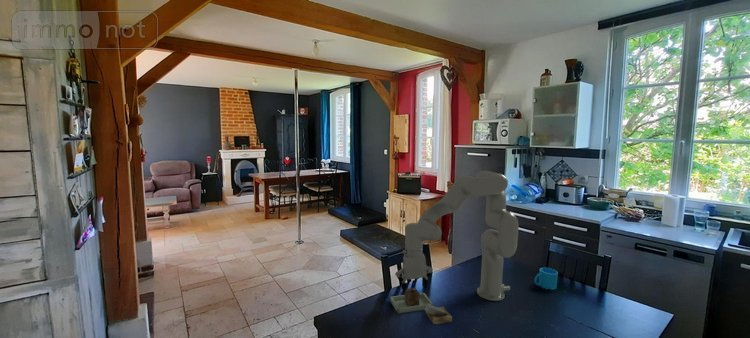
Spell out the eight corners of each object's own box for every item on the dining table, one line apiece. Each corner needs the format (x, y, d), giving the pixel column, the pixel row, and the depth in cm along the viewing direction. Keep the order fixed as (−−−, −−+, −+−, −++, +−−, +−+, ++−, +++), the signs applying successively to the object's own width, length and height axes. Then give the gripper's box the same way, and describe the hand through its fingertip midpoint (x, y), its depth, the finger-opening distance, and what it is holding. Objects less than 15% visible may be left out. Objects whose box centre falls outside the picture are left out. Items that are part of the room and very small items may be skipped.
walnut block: (414, 300, 145) (415, 287, 144) (419, 306, 140) (419, 293, 140) (404, 301, 144) (404, 289, 143) (408, 307, 139) (408, 294, 138)
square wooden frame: (443, 311, 137) (443, 306, 137) (452, 321, 130) (452, 317, 129) (425, 313, 135) (426, 309, 135) (434, 324, 128) (434, 319, 127)
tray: (423, 296, 149) (423, 292, 149) (433, 308, 139) (433, 304, 139) (390, 300, 145) (390, 296, 145) (397, 313, 135) (397, 309, 135)
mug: (548, 281, 167) (549, 266, 166) (560, 289, 159) (561, 273, 158) (528, 284, 164) (529, 268, 163) (540, 291, 156) (541, 275, 155)
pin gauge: (443, 309, 134) (427, 303, 132) (446, 313, 132) (429, 306, 129) (440, 315, 134) (424, 309, 132) (443, 318, 132) (426, 312, 129)
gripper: (398, 257, 134) (398, 295, 136) (435, 252, 138) (435, 289, 140) (392, 251, 141) (393, 287, 143) (428, 246, 145) (428, 282, 147)
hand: (414, 288), depth 142 cm, fingers open, 9 cm apart
